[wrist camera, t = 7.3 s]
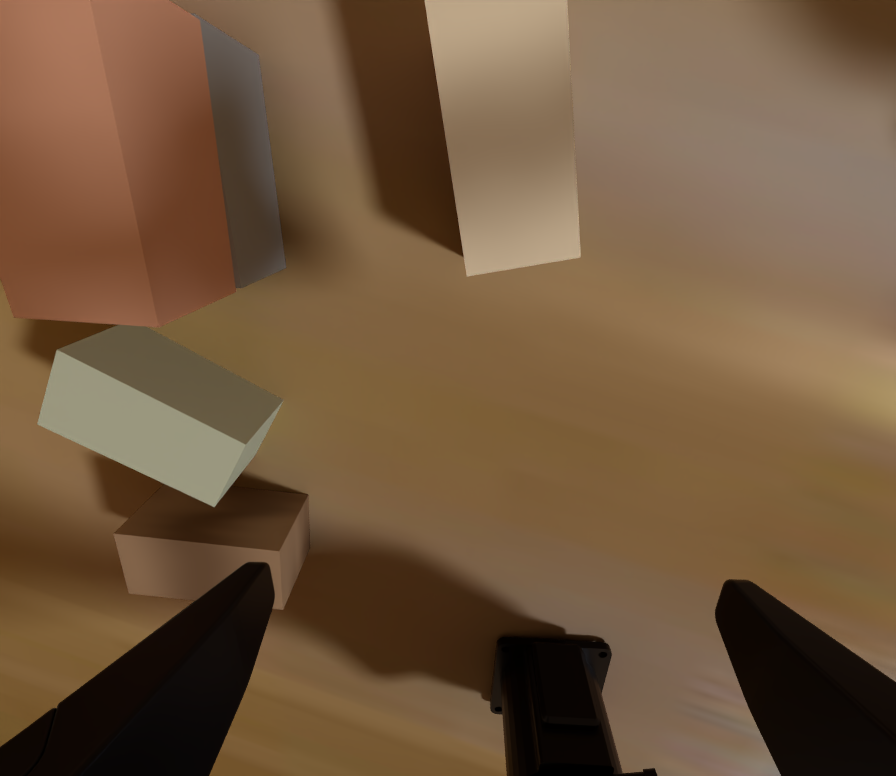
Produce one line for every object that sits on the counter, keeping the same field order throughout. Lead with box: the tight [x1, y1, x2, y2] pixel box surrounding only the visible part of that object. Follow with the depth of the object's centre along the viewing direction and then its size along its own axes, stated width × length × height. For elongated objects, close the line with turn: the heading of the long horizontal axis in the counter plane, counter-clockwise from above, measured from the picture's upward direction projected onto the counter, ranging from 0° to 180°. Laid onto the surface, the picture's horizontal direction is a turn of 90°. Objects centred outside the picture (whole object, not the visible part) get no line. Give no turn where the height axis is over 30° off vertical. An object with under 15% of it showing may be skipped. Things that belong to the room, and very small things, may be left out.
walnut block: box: [114, 484, 310, 610], centre depth 21 cm, size 7×4×4 cm, turn 84°
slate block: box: [191, 14, 286, 288], centre depth 15 cm, size 7×4×4 cm, turn 179°
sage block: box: [37, 325, 284, 507], centre depth 19 cm, size 7×4×4 cm, turn 58°
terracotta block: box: [0, 0, 236, 327], centre depth 11 cm, size 7×4×4 cm, turn 177°
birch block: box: [425, 0, 581, 276], centre depth 14 cm, size 7×4×4 cm, turn 10°
